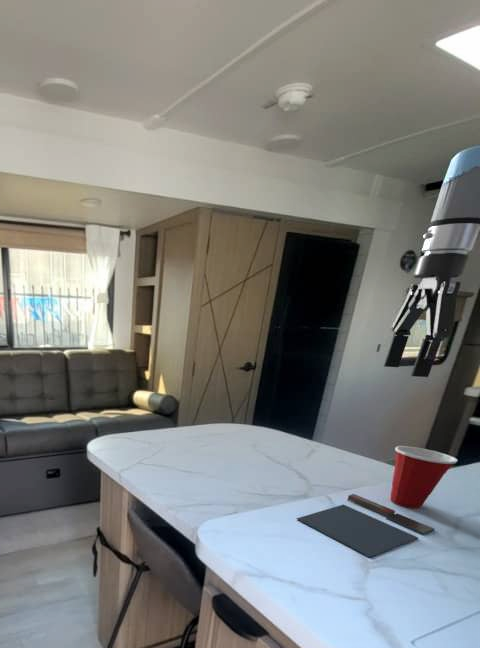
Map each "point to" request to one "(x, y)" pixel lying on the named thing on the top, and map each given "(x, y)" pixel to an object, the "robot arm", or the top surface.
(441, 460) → the plastic cup
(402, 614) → the top surface
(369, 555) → the cloth mat
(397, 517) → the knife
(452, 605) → the top surface
